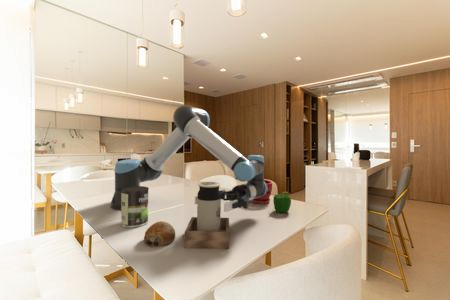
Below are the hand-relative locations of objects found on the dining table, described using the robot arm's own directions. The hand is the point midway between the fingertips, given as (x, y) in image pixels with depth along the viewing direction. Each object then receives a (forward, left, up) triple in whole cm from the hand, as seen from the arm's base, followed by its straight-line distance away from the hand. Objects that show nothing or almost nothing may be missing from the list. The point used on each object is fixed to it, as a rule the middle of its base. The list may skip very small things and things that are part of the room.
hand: (209, 204), depth 75 cm
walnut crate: (0, 0, -12) cm, 12 cm away
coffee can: (-31, +13, -12) cm, 36 cm away
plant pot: (+25, +49, -12) cm, 57 cm away
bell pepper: (+33, +32, -12) cm, 48 cm away
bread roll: (-16, -2, -12) cm, 21 cm away
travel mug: (0, 0, -11) cm, 11 cm away
